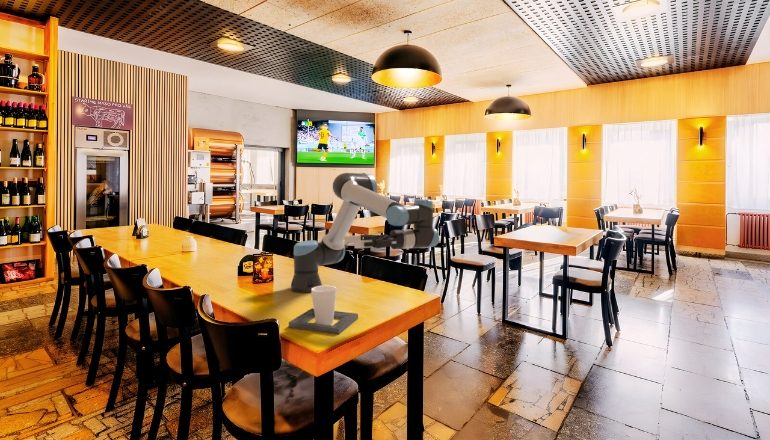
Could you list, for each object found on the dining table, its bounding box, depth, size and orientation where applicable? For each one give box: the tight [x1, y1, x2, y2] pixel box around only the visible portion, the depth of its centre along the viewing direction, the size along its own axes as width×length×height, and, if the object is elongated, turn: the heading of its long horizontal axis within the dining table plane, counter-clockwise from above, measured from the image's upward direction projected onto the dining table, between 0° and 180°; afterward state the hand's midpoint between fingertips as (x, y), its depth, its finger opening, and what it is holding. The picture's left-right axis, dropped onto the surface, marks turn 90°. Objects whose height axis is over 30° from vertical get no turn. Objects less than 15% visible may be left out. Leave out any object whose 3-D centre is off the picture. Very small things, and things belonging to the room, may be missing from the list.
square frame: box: [288, 307, 359, 335], centre depth 148 cm, size 20×17×2 cm
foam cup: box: [310, 285, 338, 326], centre depth 148 cm, size 10×9×13 cm
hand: (349, 242), depth 149 cm, fingers open, 13 cm apart
